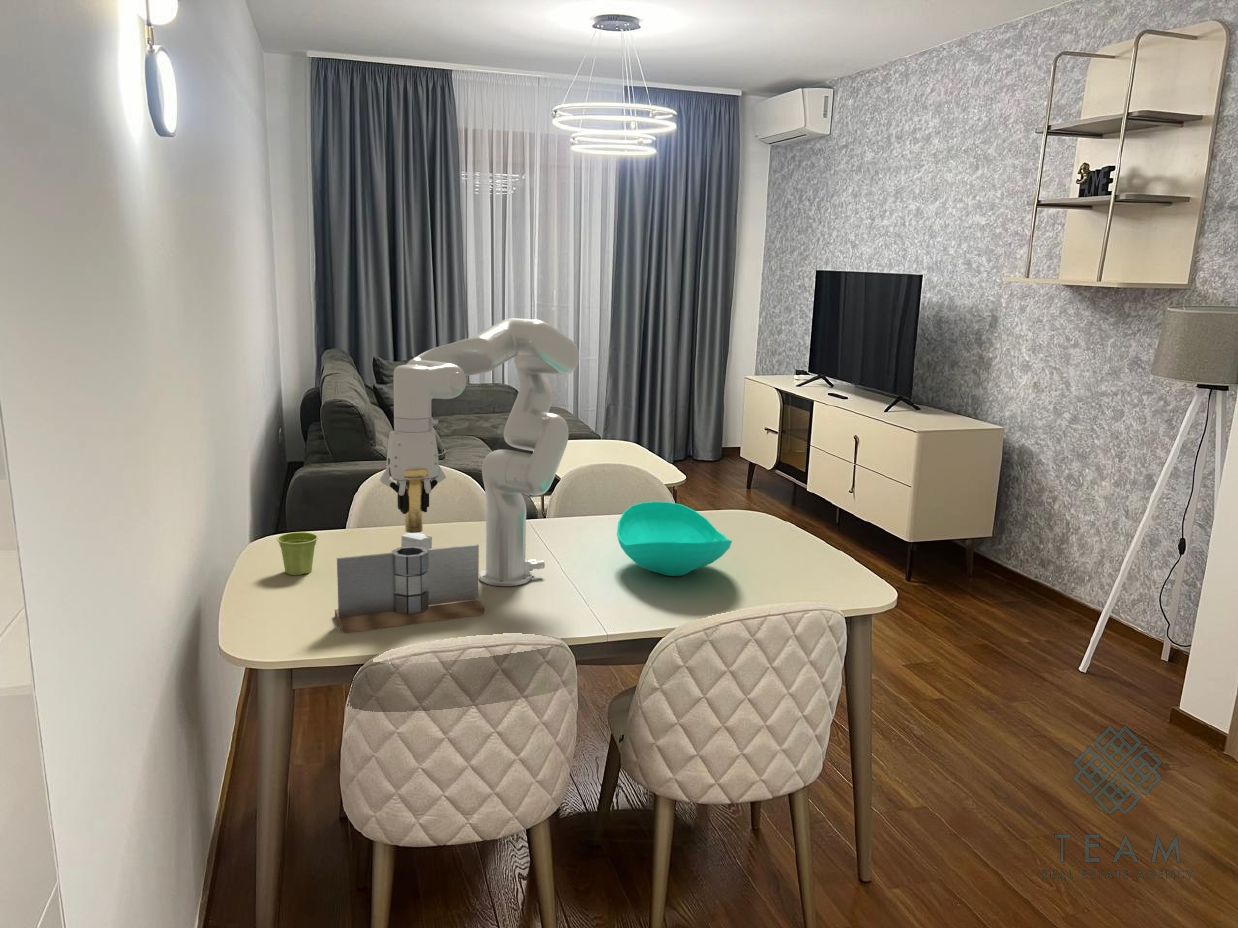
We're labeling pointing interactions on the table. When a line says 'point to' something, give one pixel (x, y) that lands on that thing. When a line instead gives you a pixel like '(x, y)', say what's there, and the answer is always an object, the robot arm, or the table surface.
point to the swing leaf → (445, 576)
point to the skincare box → (416, 540)
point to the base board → (411, 616)
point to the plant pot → (297, 552)
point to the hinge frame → (380, 583)
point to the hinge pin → (414, 501)
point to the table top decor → (669, 538)
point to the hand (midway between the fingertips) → (413, 510)
